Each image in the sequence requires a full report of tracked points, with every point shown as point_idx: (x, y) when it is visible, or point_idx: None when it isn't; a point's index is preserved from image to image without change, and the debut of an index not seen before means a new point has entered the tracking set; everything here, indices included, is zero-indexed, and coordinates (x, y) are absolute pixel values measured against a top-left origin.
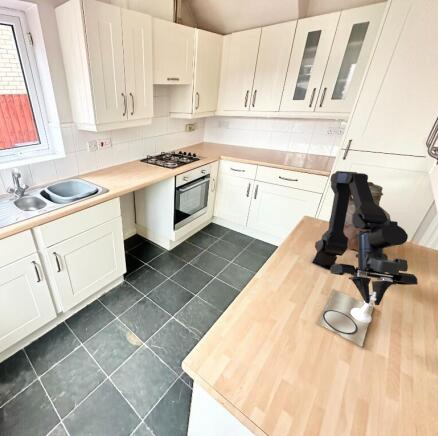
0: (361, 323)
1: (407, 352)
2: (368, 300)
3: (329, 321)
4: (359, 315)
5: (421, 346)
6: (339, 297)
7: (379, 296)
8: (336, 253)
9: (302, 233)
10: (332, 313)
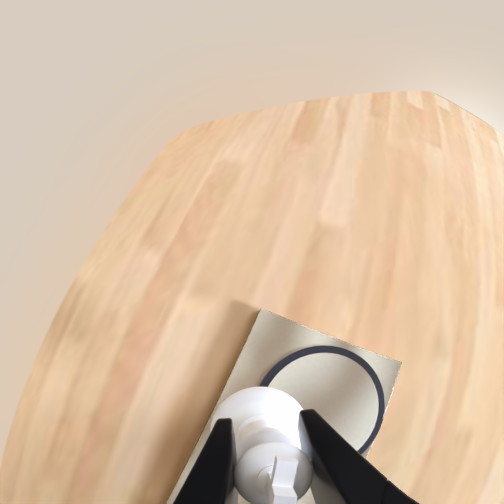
0: None
1: (102, 342)
2: (316, 423)
3: (365, 389)
4: (282, 411)
5: (51, 381)
6: None
7: (218, 483)
8: None
9: None
10: None
